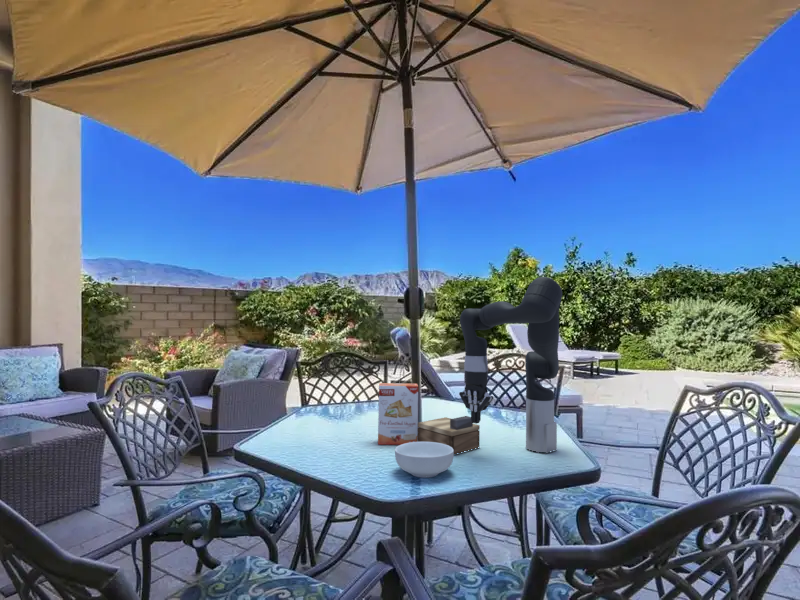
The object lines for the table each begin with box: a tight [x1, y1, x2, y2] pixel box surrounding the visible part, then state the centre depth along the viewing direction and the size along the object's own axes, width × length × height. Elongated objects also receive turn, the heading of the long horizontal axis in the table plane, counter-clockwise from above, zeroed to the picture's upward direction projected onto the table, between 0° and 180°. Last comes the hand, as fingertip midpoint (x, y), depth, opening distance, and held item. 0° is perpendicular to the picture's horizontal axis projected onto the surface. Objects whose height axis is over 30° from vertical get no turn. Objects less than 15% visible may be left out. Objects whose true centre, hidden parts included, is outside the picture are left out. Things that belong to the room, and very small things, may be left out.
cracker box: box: [377, 382, 419, 446], centre depth 167 cm, size 14×6×21 cm, turn 91°
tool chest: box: [417, 427, 481, 455], centre depth 163 cm, size 16×14×6 cm
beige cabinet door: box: [418, 415, 481, 436], centre depth 163 cm, size 16×14×4 cm
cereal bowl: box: [394, 441, 455, 479], centre depth 136 cm, size 17×17×7 cm
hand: (475, 422), depth 154 cm, fingers closed
